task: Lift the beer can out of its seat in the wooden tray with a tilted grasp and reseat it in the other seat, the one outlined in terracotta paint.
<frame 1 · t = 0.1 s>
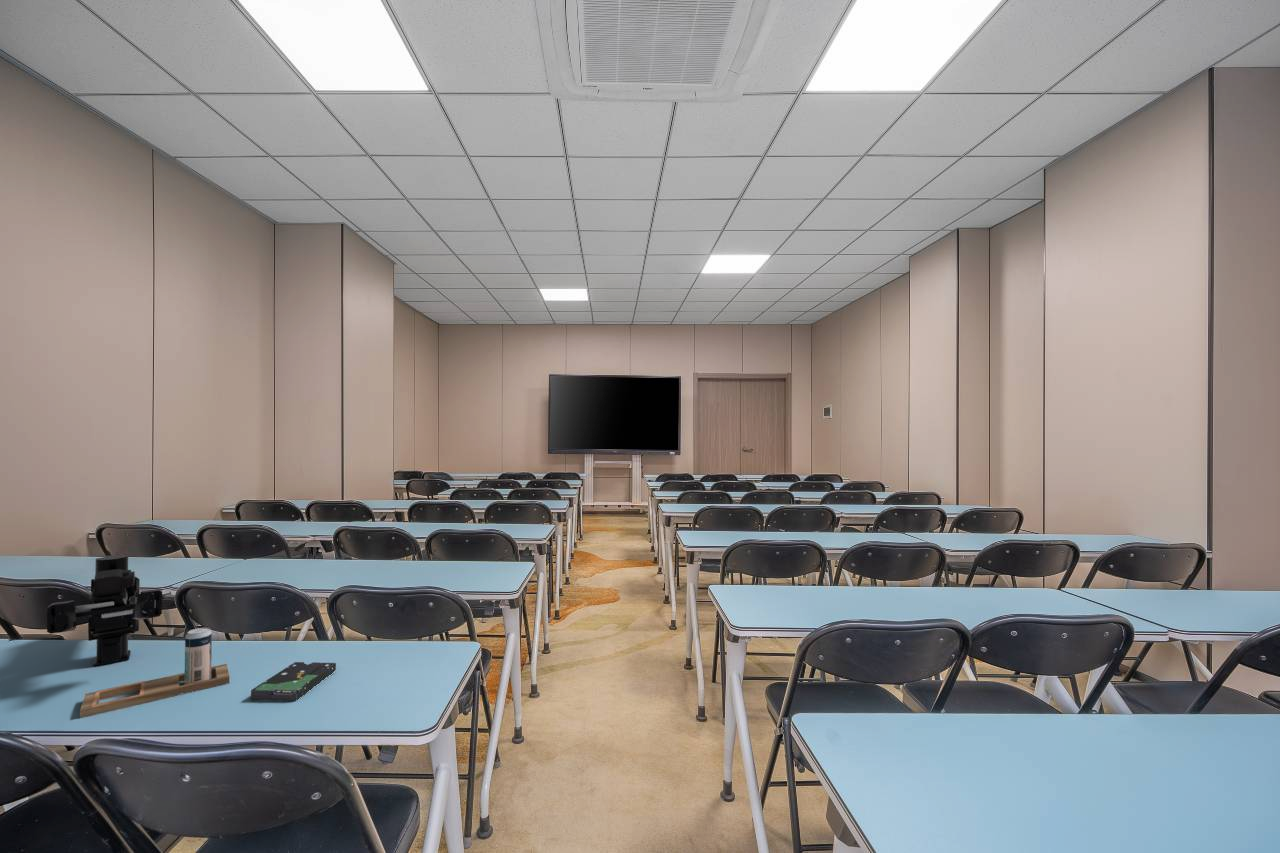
hand: (104, 619, 118), 17 cm above the table, tool horizontal, fingers open, 9 cm apart
disk drive: (295, 688, 124), on the table
beer can: (197, 684, 125), resting in wooden tray
wooden tray: (159, 691, 121), on the table
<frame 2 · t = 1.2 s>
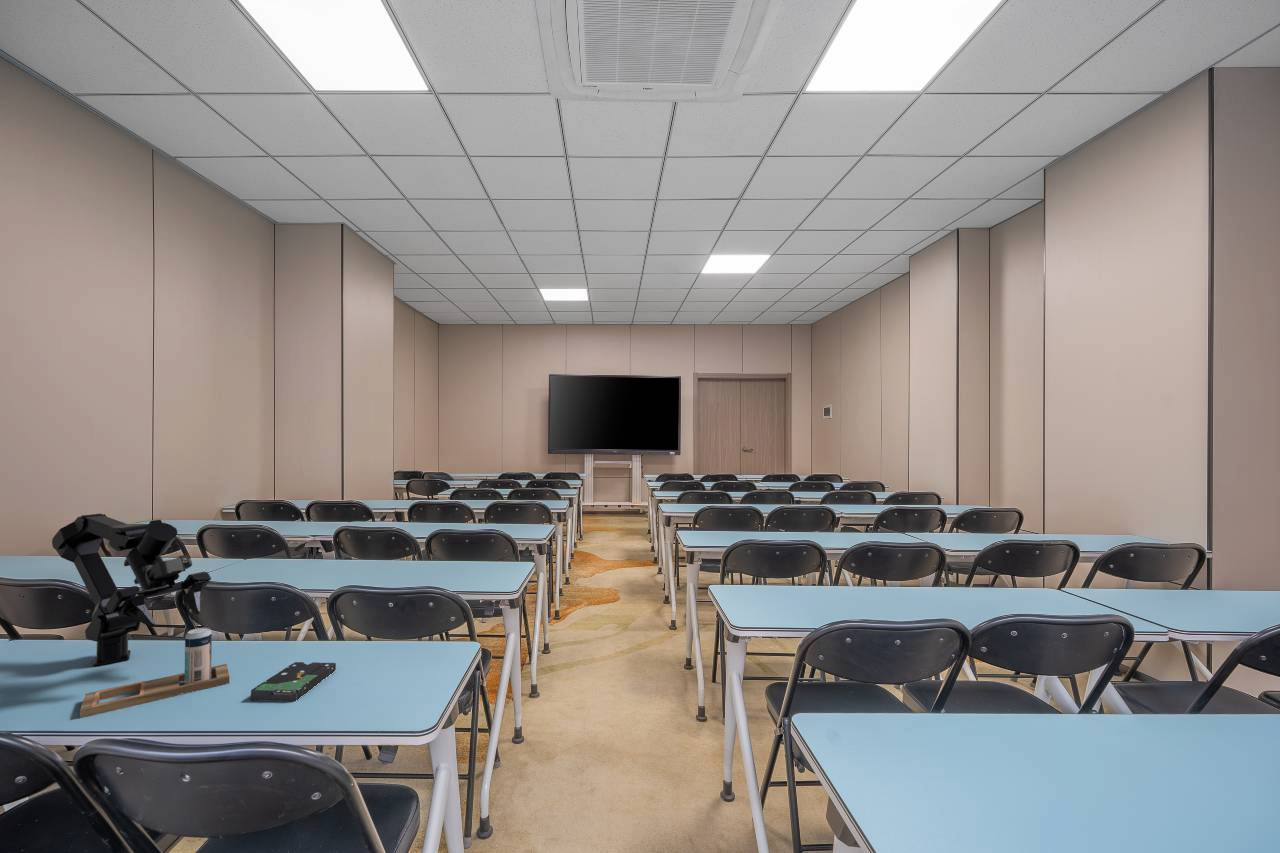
hand: (176, 619, 128), 13 cm above the table, tool tilted 45°, fingers open, 9 cm apart
nothing on the table moved.
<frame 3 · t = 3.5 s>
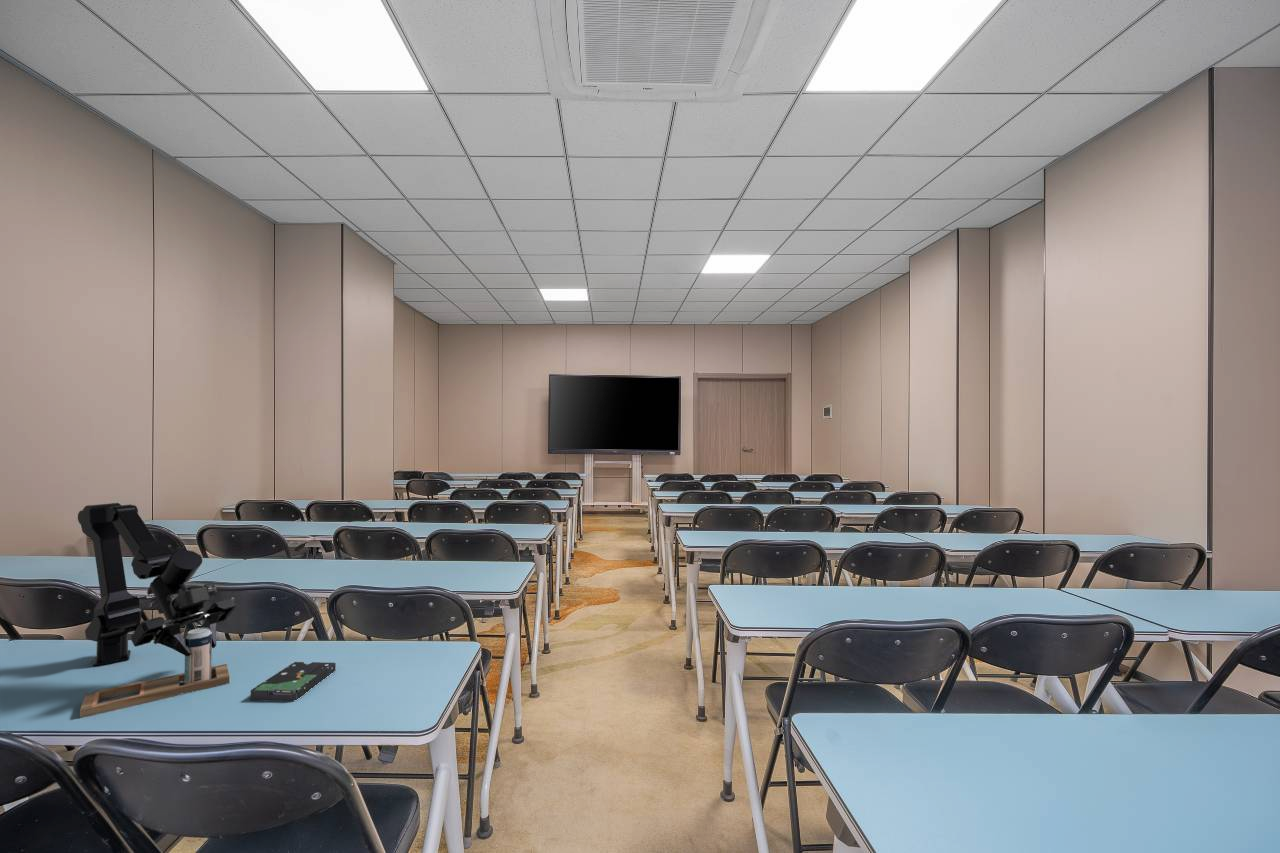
hand: (202, 650, 124), 8 cm above the table, tool tilted 45°, fingers closed on beer can, 5 cm apart
beer can: (197, 684, 125), resting in wooden tray, touching gripper
everything else where it was.
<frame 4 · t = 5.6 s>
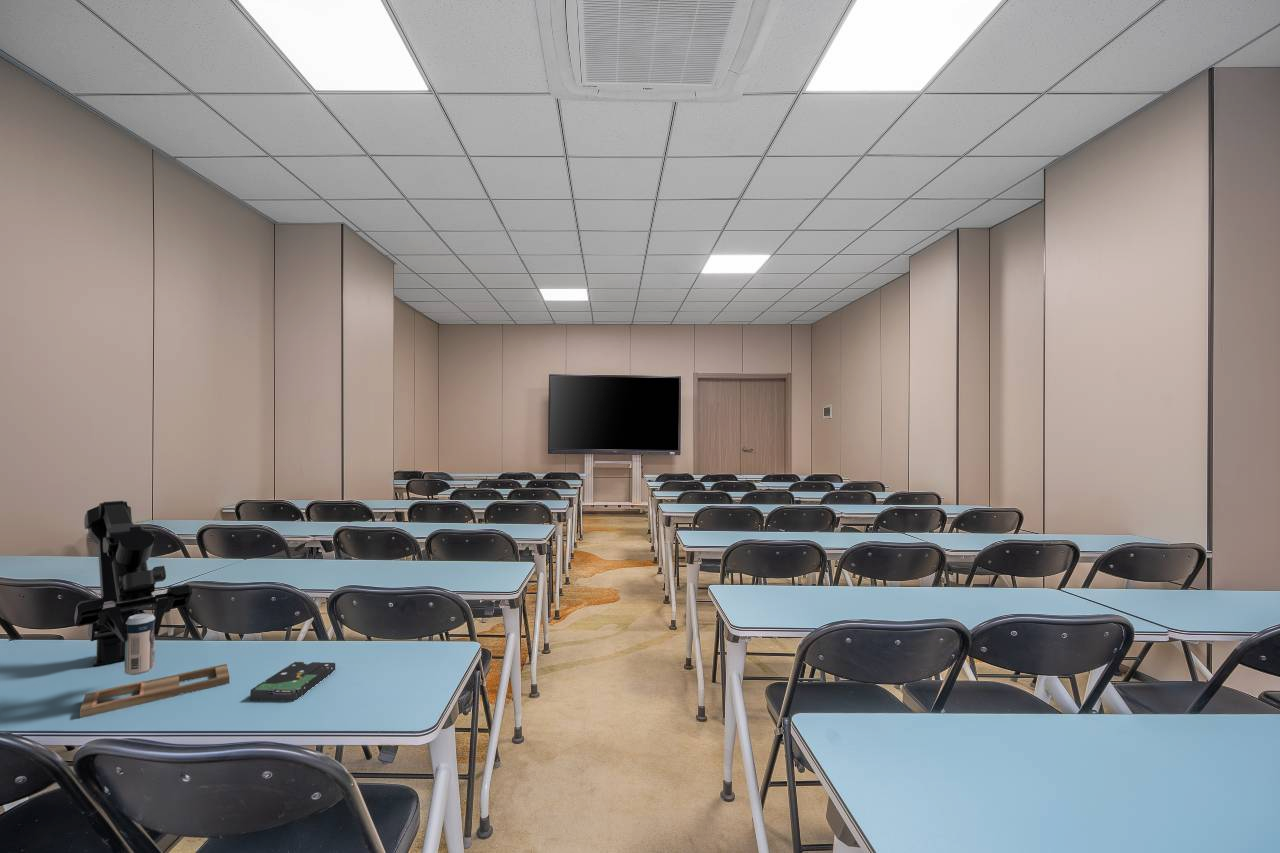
hand: (141, 637, 118), 13 cm above the table, tool tilted 45°, fingers closed on beer can, 5 cm apart
beer can: (139, 672, 118), point 5 cm above the table, touching gripper
everything else where it was.
when the fingers open (8 cm above the table, at t = 7.2 s): beer can stays where it is, resting in wooden tray.
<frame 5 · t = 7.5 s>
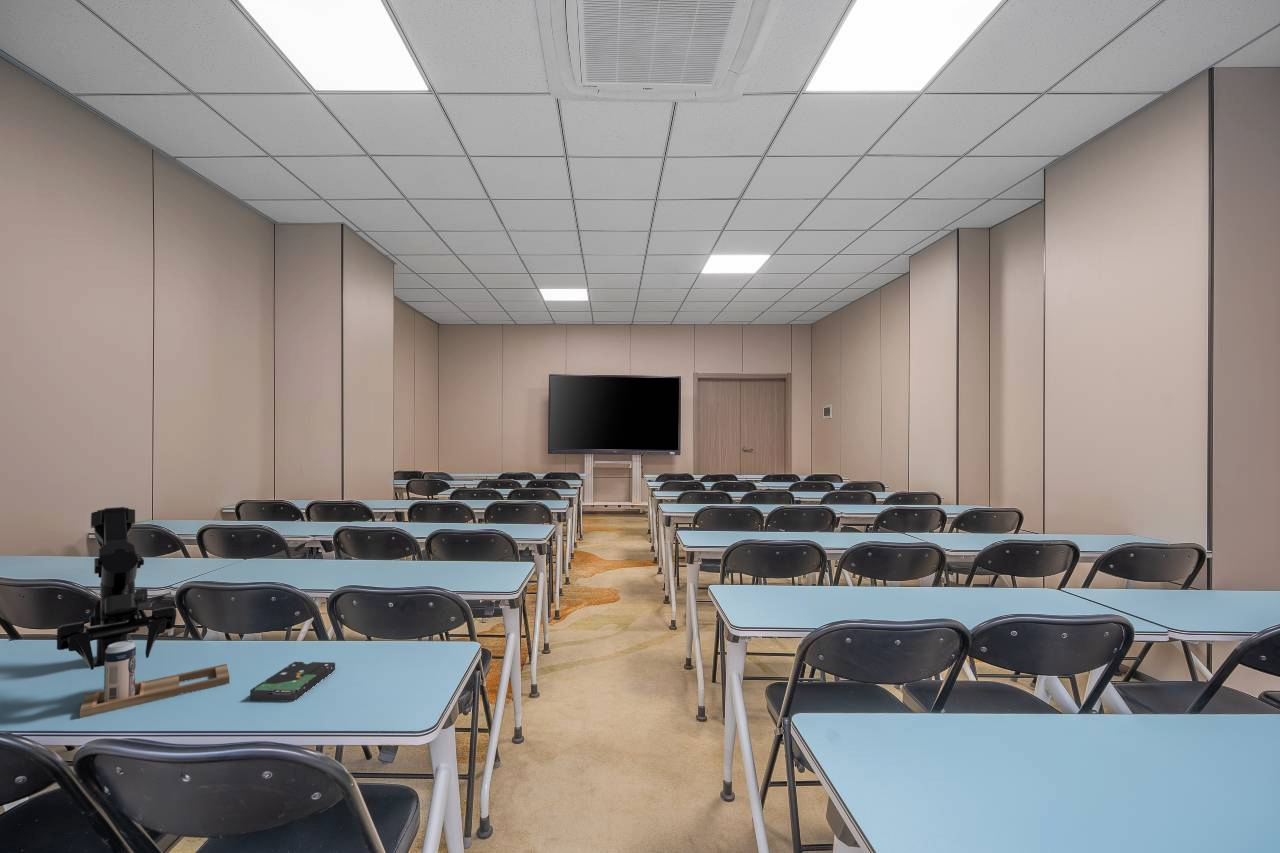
hand: (120, 662, 116), 9 cm above the table, tool tilted 45°, fingers open, 8 cm apart
beer can: (119, 701, 117), resting in wooden tray
everything else where it was.
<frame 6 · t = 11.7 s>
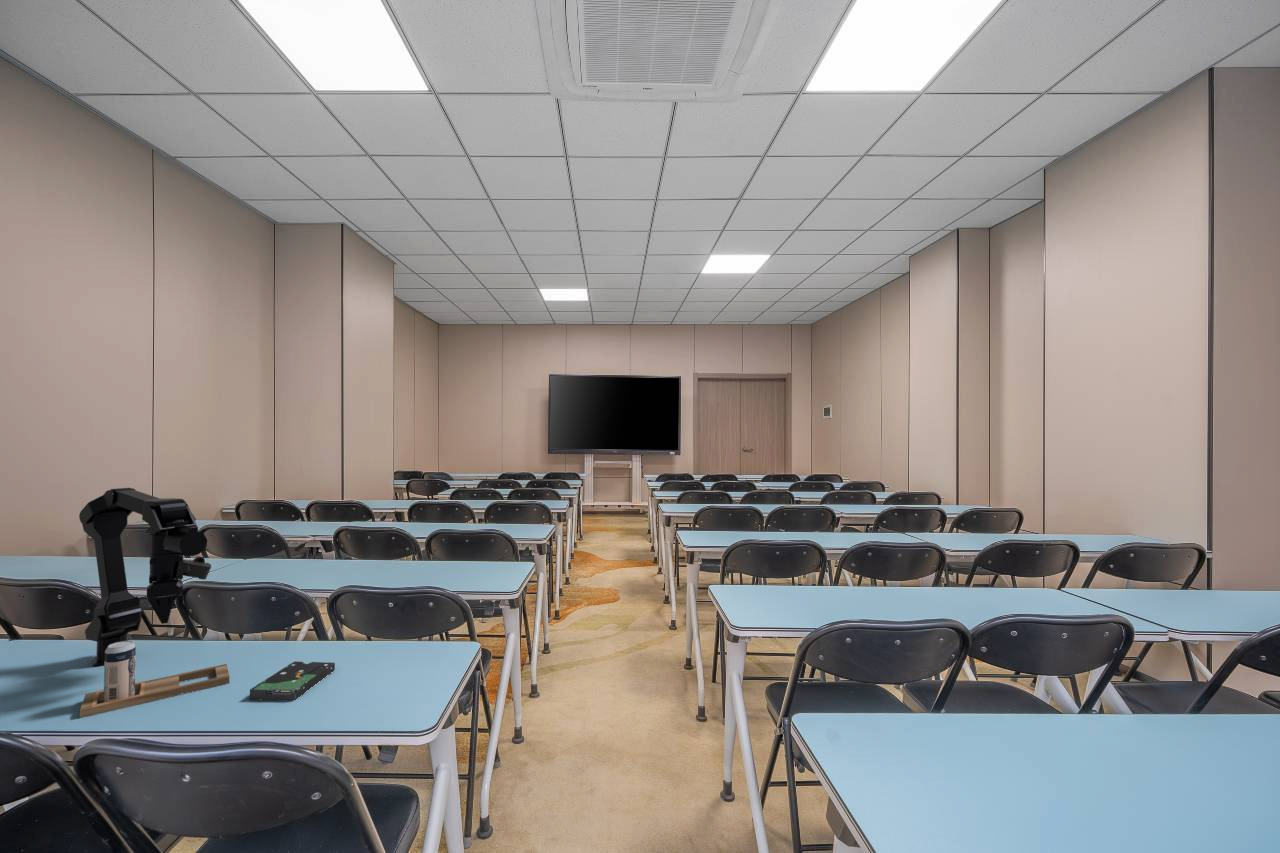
hand: (165, 617, 130), 13 cm above the table, tool pointing down, fingers open, 9 cm apart
nothing on the table moved.
at the end: beer can 0.2 cm from the target spot, resting in wooden tray; beer can tilted 0°; the gripper is holding nothing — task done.
